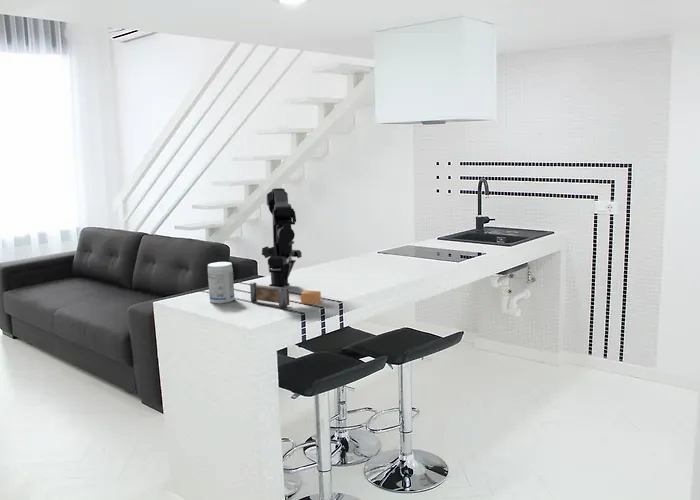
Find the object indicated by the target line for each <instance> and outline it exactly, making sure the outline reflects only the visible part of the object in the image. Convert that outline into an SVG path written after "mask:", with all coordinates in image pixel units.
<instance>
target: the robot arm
mask: <svg viewBox="0 0 700 500" xmlns="http://www.w3.org/2000/svg"><path fill="white" fill-rule="evenodd" d="M266 206H267V207H268V210H269V212H270V213H271V215H272V241H273V242H272V243H273V245H272V247H269V246H264V247H262V248H261V255H262V256H263V257H264V258H265V259H267V265H268V273H269V274H270V279H271V280H270V281H271V282H270V284H269V285H268V286H272V287H280V288H284V287H286V286H289V285H290V283H289V277H290V275H291V272H292V270H293V268H294V265H295V263H296V261H297V260H296V259H293V258H297V259H300V258H302V257H303V256H302V255H303V254H302V251H301V250H300V249H293V245H294V244H295V240H294V239H295V235H296V234H295V231H294V229H292V228H293V227H292V225H293V226H294V225H296V223H297V218H296V216H297V215H296V211H295V209H294V208H293V207H292V205H291V204H290V203H289V196H288V192H287V191H285V188H281V187H279V188H277V187H276V188H272V189H271V191H270V192H268V193H267V194H266Z"/></svg>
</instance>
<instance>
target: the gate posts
mask: <svg viewBox="0 0 700 500" xmlns="http://www.w3.org/2000/svg"><path fill="white" fill-rule="evenodd" d="M256 285H257V282H249V288H250V303H257V302H258V300H257V299H256ZM281 288H282V289H278V295H279V303H278V309H280V310H284V309H285V310H287V308H288V306H287V290H286V289H284V288H285V287H281Z"/></svg>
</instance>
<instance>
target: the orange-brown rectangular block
mask: <svg viewBox="0 0 700 500" xmlns="http://www.w3.org/2000/svg"><path fill="white" fill-rule="evenodd" d="M321 297H322V296H321V291H319V290H305V291H303V292H301V293H300V303H301V304H303V305H304V304H306V305H308V304H309V305H317V304H318V303H320V302H321V301H322V298H321Z"/></svg>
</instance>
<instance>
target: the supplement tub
mask: <svg viewBox="0 0 700 500" xmlns="http://www.w3.org/2000/svg"><path fill="white" fill-rule="evenodd" d="M233 271H234V269H233V263H232V262H230V261H229V262H228V261H217V262H211V263H208V264H207V280H208V292H209V293H208V294H209V301H210V302H211V303H213V304H228V303H230V302H233V301H234V300H235V286H234V285H235V284H234V272H233Z"/></svg>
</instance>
